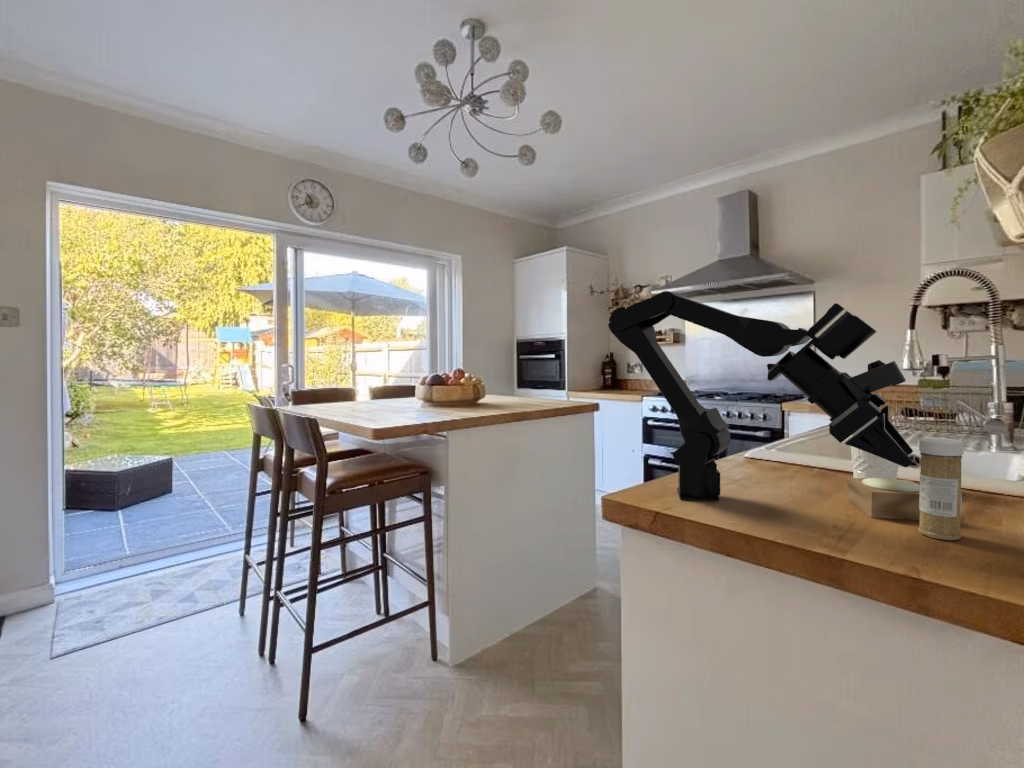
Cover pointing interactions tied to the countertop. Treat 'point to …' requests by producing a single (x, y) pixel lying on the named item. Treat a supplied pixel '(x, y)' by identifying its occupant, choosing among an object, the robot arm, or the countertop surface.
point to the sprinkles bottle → (940, 488)
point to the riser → (885, 497)
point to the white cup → (872, 465)
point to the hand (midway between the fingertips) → (910, 459)
